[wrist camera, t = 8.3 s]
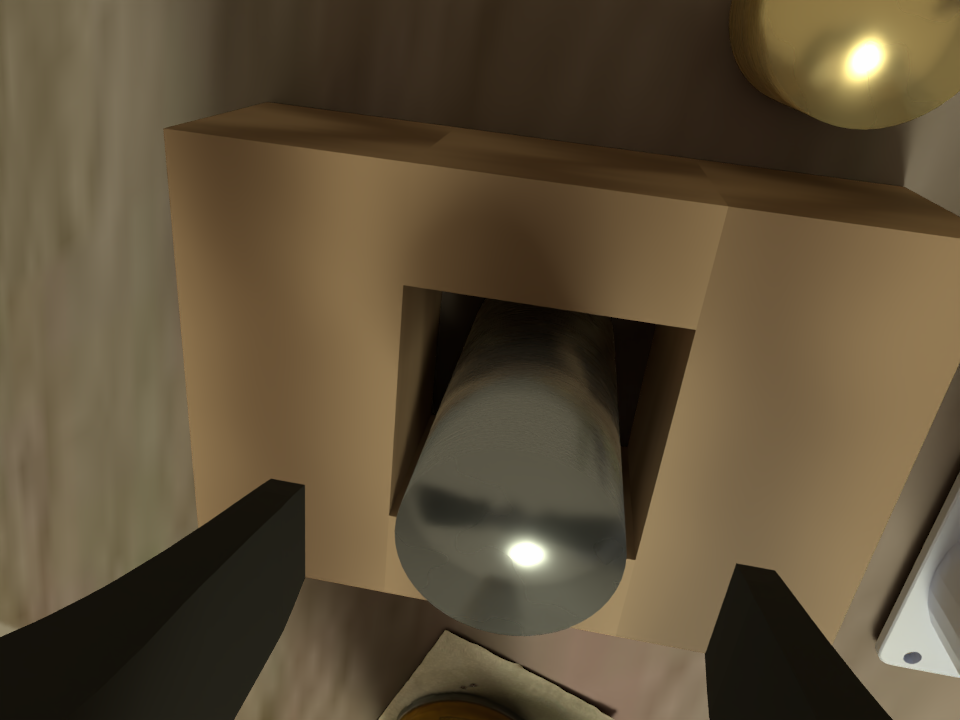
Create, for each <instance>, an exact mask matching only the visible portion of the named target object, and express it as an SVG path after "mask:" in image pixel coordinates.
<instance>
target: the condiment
mask: <svg viewBox="0 0 960 720" xmlns="http://www.w3.org/2000/svg"><path fill="white" fill-rule="evenodd" d="M470 684H477V685H478V686H474V687H471V686H470ZM461 686H465V687H466V689H461V688H460V687H461ZM378 720H614V719H613V718H611V717H609V716H607V715H605V714H603V713H601V712H600V711H599V710H598V709H597V708H596V707H595V706H592V705H590V704H588V703H586V702H584V701H583V700H581V699H579V698H577V697H576V696H574V695H572V694H569V693H567V692H565V691H564V690H562V689H561V688H560V687H558V686H556V685H554V684H552V683H550V682H548V681H547V680H545V679H543V678H541V677H538V676H536V675H535V674H533V673H530V672H528V671H527V670H525V669H524V668H523V667H522V665H519V664H516V663H512V662H509V661H506V660H504V659H502V658H500V657H498V656H496V655H494V654H492V653H491V652H489V651H487V650H486V649H484V648H482V647H480V646H479V645H476V644H472V643H470V642H468V641H466V640H464V639H462V638H460V637H458V636H456V635H454V634H452V633H450V632H448V631H447V630H445V631H444V633H443V634H442V635H441V637H440V638H439V639H438V641H437V643H436V644H435V645H434V647H433V648H432V649H431V650H430V651H429V653H428V654H427V655H426V657H425V659H424V660H423V662H422V663H421V664H420V666H419V667H418V668H417V669H416V671H415V672H414V673H413V674H412V676H411V678H410V679H409V680H408V681H407V682H406V684H405V685H404V687H403V688H402V689H401V690H400V692H399V693H398V694H397V695H396V697H395V698H394V699H393V700H392V702H391V703H390V704H389V706H388V707H387V709H386V710H385V711H384V713H383V714H382V715H381V716H380V718H379V719H378Z"/></svg>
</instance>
